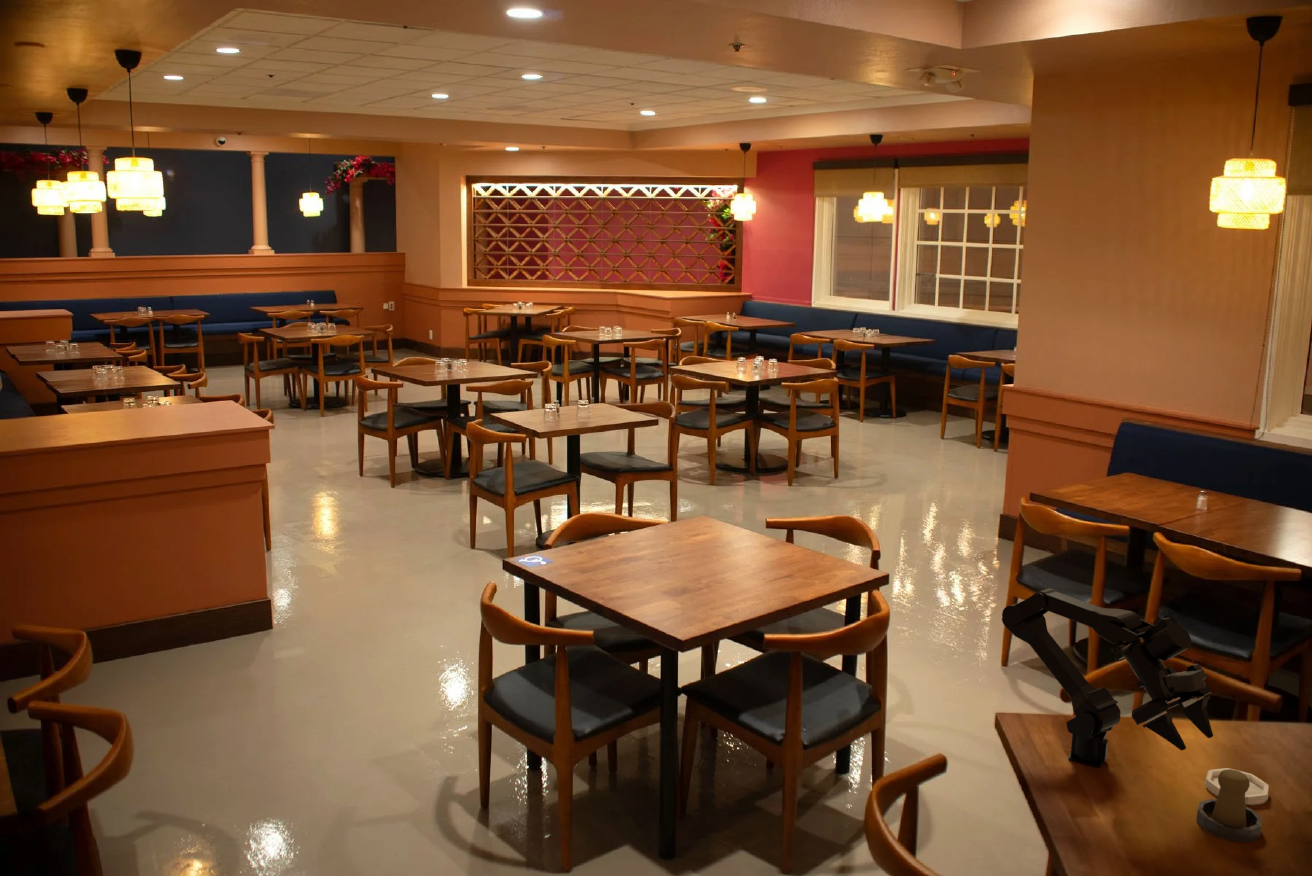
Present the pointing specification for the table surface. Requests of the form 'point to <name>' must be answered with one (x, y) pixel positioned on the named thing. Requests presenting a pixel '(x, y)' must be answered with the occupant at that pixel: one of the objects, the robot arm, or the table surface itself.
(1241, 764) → the table surface
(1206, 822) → the dark grey ring
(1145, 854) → the table surface
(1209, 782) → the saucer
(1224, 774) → the cork
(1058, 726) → the table surface
